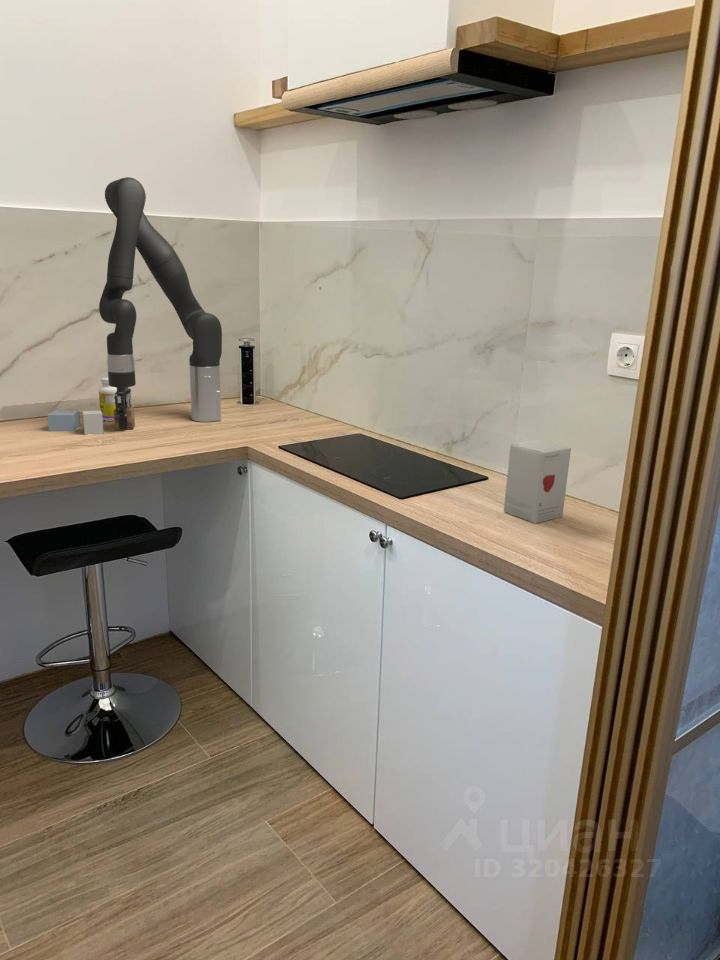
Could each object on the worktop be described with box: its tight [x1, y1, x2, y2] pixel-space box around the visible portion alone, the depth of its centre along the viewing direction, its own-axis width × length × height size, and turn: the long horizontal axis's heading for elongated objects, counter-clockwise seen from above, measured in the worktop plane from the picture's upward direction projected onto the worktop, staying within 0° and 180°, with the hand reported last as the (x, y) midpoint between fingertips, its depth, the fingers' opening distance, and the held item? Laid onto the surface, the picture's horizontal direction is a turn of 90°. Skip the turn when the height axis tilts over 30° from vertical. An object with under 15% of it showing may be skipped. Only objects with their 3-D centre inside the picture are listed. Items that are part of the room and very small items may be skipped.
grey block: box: [81, 409, 104, 436], centre depth 208 cm, size 5×5×6 cm
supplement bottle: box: [98, 377, 117, 422], centre depth 224 cm, size 7×7×13 cm
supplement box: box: [503, 439, 572, 524], centre depth 150 cm, size 9×9×15 cm
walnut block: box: [113, 406, 136, 431], centre depth 214 cm, size 5×5×6 cm
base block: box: [46, 409, 81, 432], centre depth 212 cm, size 7×7×5 cm
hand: (124, 426), depth 215 cm, fingers open, 5 cm apart
